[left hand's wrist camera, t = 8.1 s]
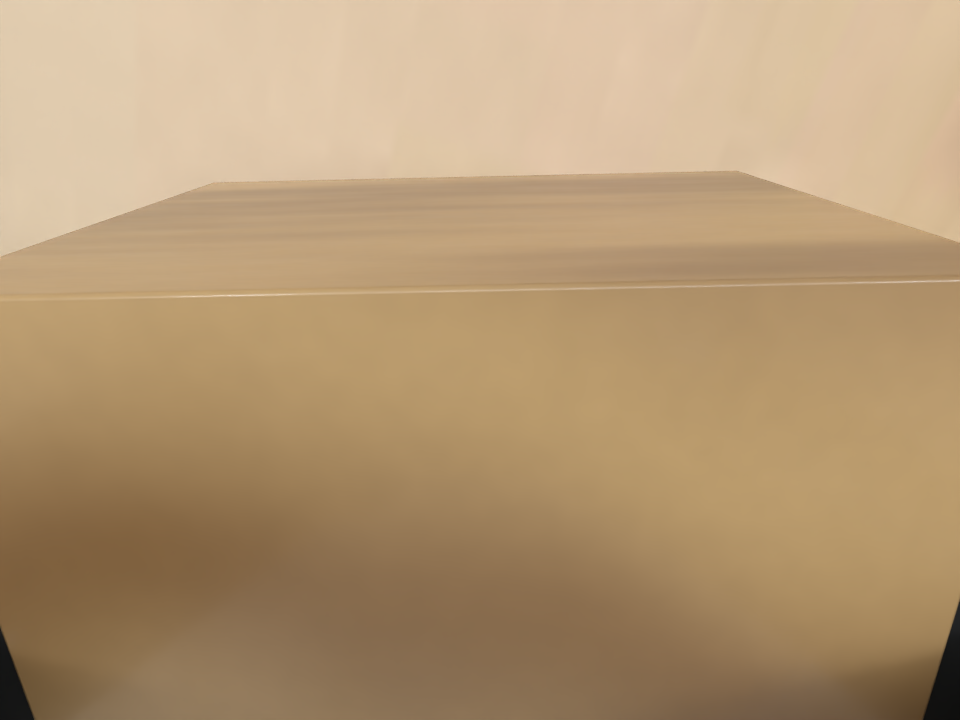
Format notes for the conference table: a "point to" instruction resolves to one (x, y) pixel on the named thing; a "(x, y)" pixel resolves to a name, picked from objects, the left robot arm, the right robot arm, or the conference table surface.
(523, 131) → the conference table surface
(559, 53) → the conference table surface
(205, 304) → the thick board
